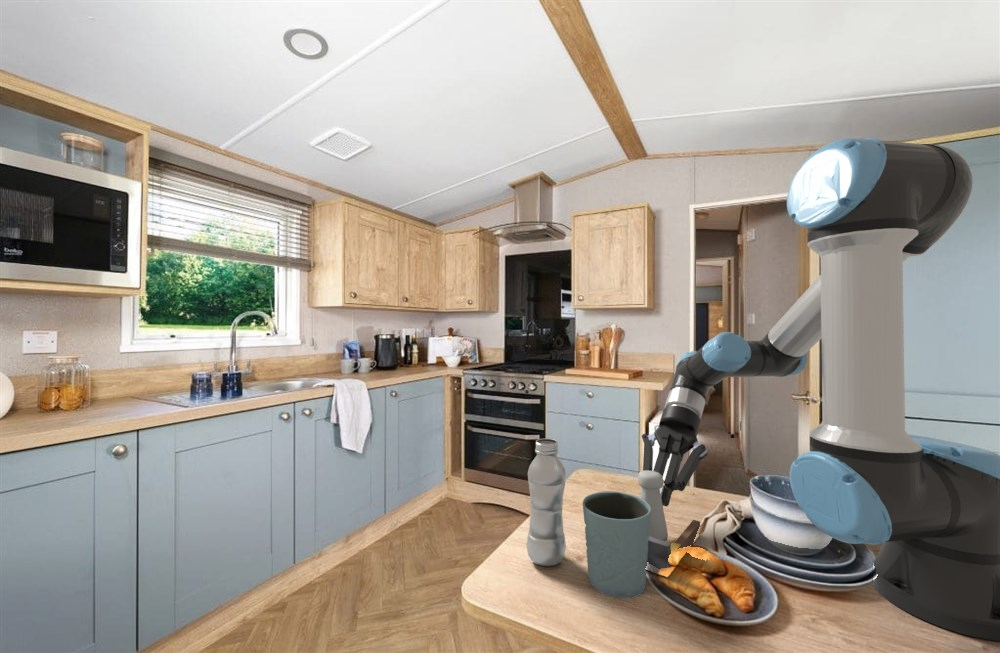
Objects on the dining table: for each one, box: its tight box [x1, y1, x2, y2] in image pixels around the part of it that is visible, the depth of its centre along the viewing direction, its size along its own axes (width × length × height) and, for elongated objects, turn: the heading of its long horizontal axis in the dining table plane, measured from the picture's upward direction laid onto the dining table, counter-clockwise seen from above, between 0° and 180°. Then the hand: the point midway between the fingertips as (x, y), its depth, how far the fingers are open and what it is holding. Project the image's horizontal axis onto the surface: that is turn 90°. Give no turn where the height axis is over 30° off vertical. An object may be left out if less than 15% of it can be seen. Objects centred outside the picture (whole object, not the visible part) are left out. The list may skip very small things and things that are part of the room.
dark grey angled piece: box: [647, 519, 701, 569], centre depth 76 cm, size 11×18×5 cm, turn 140°
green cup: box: [582, 490, 651, 599], centre depth 65 cm, size 10×10×12 cm
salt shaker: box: [637, 470, 669, 542], centre depth 75 cm, size 6×6×13 cm
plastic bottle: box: [526, 438, 567, 567], centre depth 70 cm, size 6×7×20 cm
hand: (652, 519), depth 78 cm, fingers closed
